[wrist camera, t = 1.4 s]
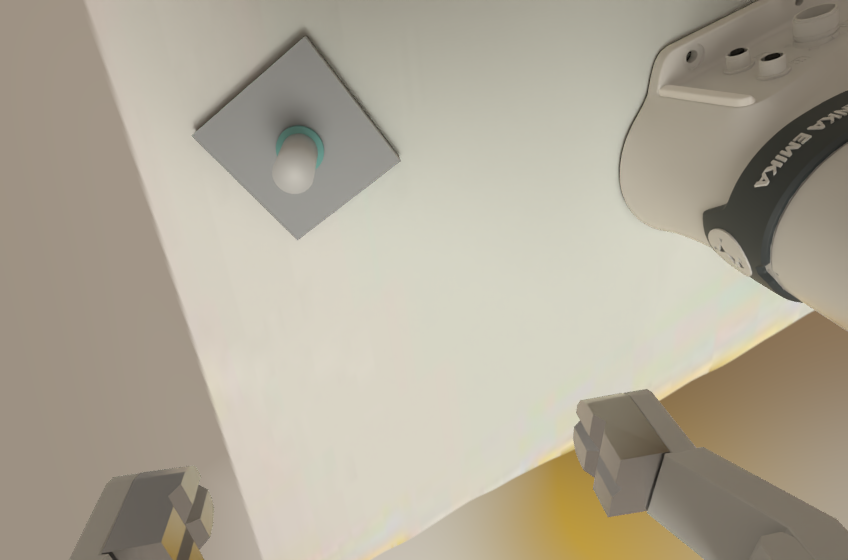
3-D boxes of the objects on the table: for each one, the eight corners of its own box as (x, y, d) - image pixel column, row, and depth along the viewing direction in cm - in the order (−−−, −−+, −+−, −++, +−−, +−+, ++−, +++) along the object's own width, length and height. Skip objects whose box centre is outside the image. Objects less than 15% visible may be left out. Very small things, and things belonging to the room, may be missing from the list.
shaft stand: (305, 35, 30) (296, 42, 24) (398, 156, 35) (410, 187, 29) (196, 131, 32) (162, 160, 26) (298, 233, 37) (290, 277, 31)
